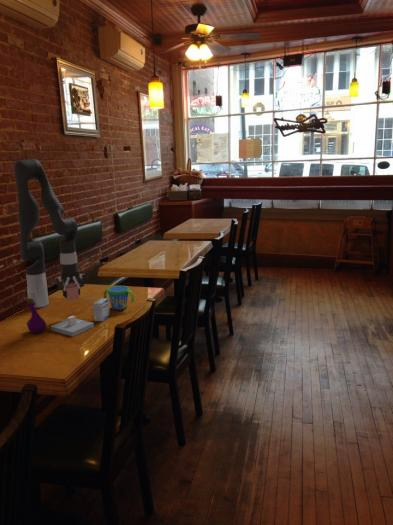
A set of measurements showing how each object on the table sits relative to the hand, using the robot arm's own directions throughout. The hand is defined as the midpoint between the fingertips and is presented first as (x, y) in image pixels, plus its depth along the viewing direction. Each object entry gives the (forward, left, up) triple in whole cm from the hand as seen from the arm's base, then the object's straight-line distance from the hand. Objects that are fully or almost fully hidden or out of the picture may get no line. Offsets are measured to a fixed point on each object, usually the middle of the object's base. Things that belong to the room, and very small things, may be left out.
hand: (72, 296), depth 201 cm
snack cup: (+10, +20, -10) cm, 25 cm away
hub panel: (+11, -11, -10) cm, 19 cm away
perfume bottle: (0, -21, -10) cm, 23 cm away
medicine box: (+13, +5, -10) cm, 18 cm away
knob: (0, 0, -1) cm, 1 cm away
